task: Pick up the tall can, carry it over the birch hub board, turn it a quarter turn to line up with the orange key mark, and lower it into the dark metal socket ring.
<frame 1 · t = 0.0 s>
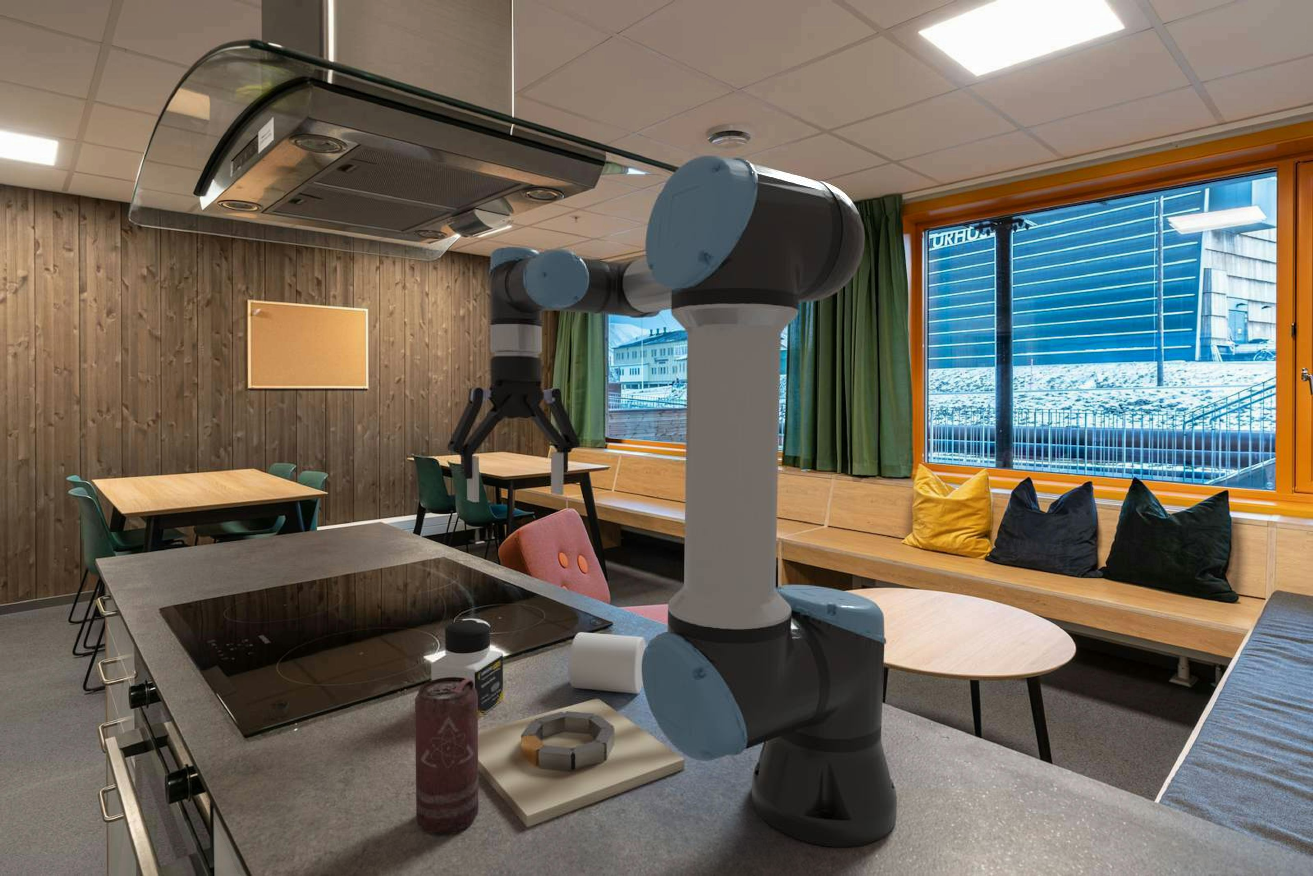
hand: (516, 497, 108), 28 cm above the countertop, fingers open, 13 cm apart
can: (448, 820, 74), on the countertop
medicine bottle: (468, 708, 100), on the countertop
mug: (611, 684, 108), on the countertop
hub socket: (568, 739, 86), on the hub board, point 2 cm above the countertop
hub board: (568, 757, 86), on the countertop
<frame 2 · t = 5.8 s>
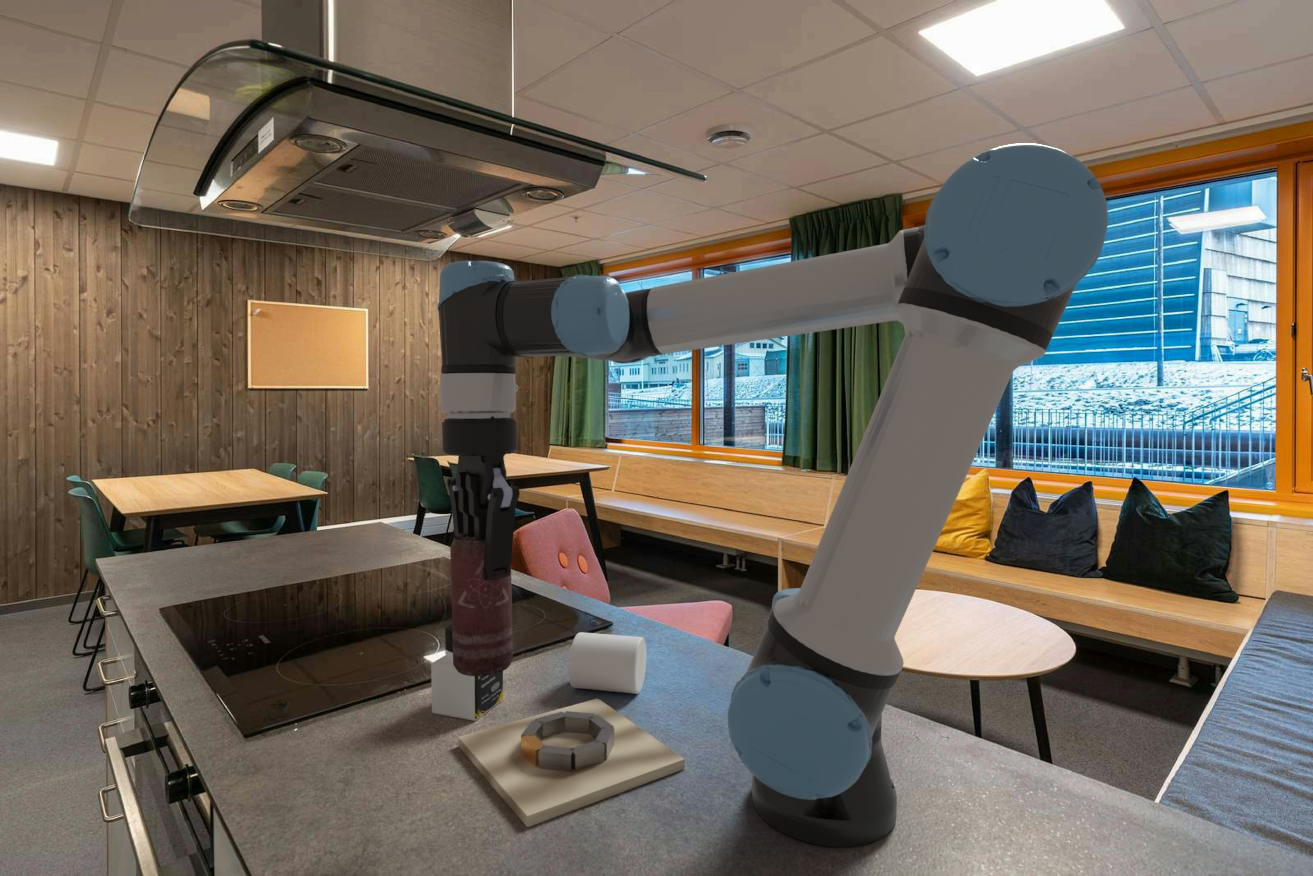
hand: (484, 639, 75), 18 cm above the countertop, fingers closed
can: (484, 667, 75), point 15 cm above the countertop, touching hand
everything else where it was.
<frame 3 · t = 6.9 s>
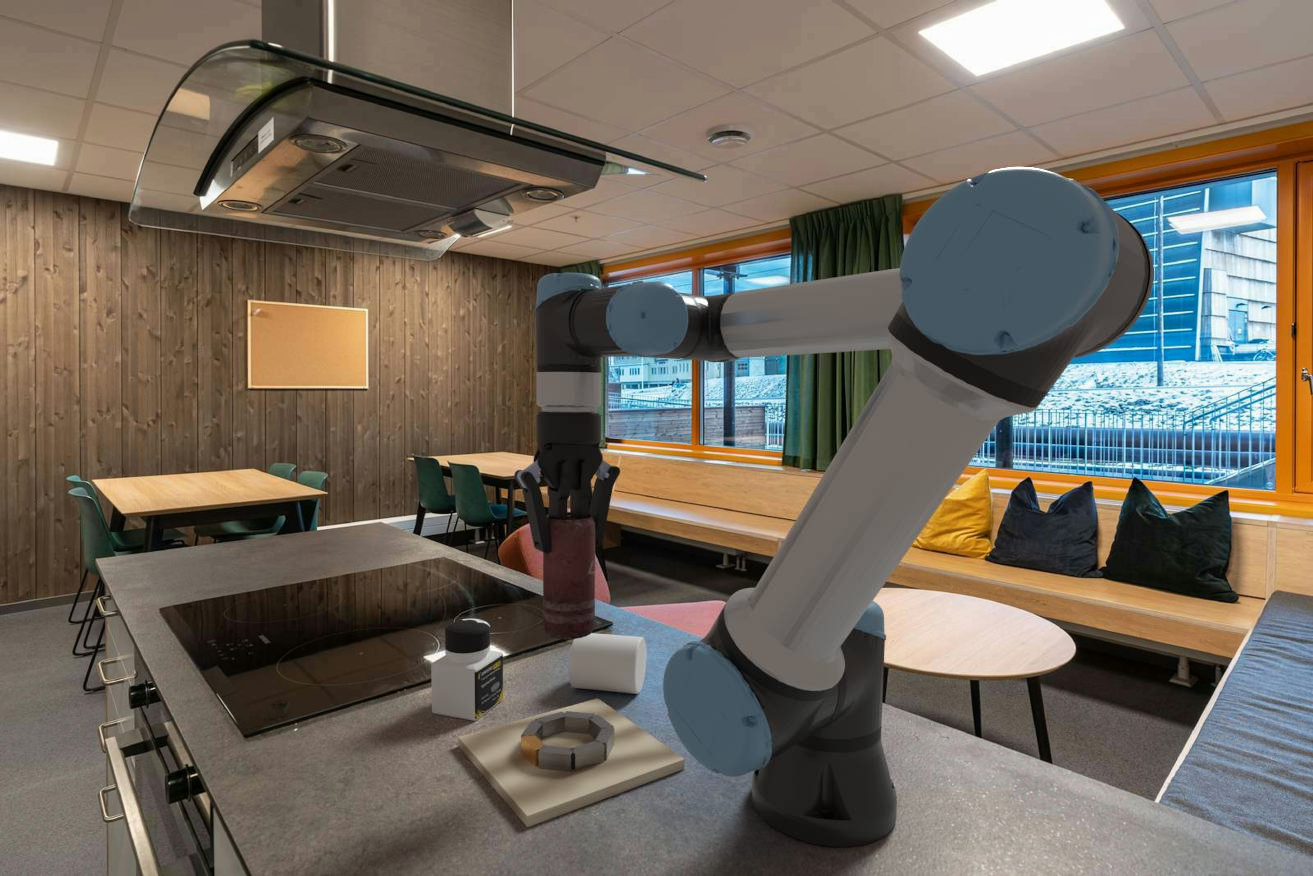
hand: (568, 607, 85), 18 cm above the countertop, fingers closed
can: (568, 632, 85), point 15 cm above the countertop, touching hand
everything else where it was.
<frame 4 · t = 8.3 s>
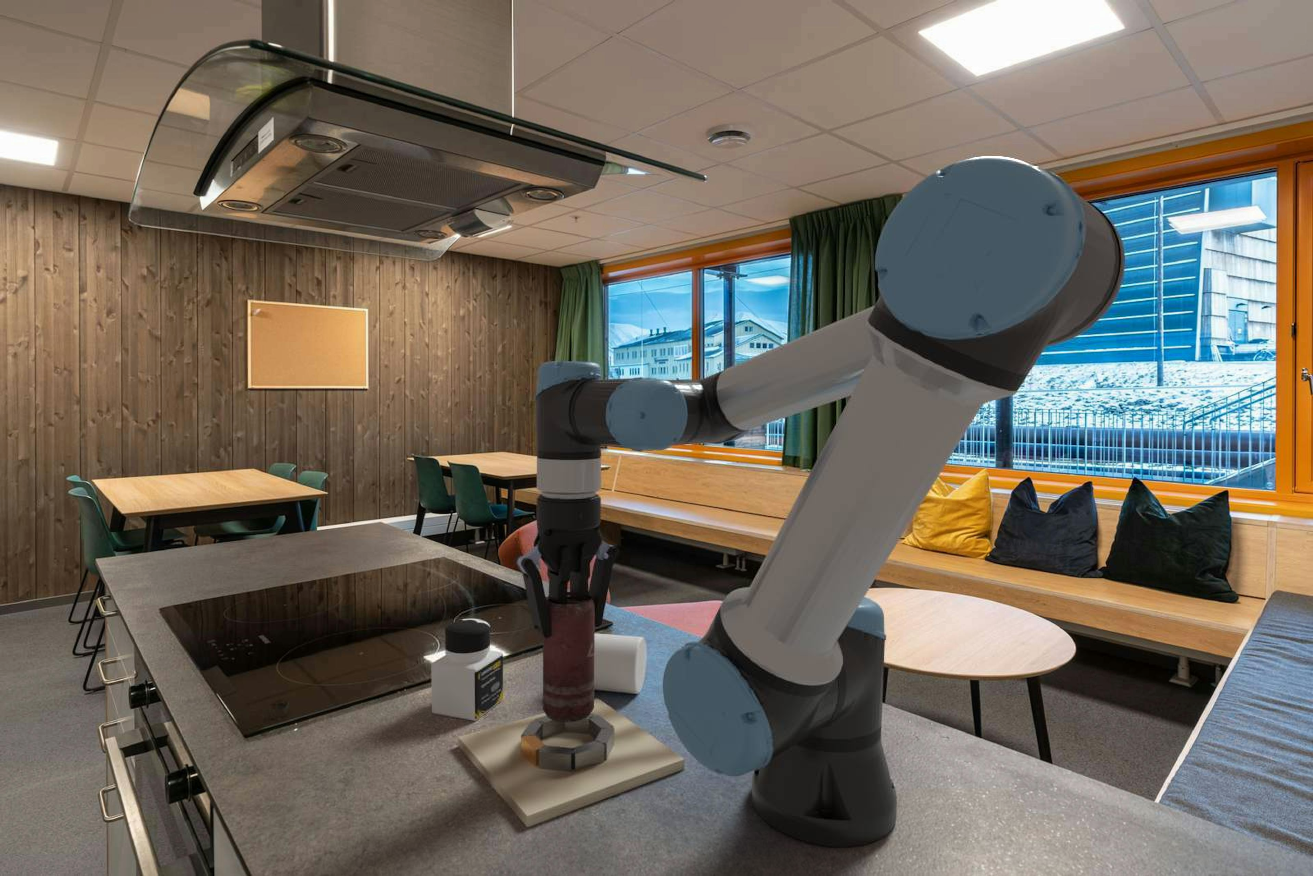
hand: (568, 688, 86), 9 cm above the countertop, fingers closed
can: (567, 713, 86), point 6 cm above the countertop, touching hand
everything else where it was.
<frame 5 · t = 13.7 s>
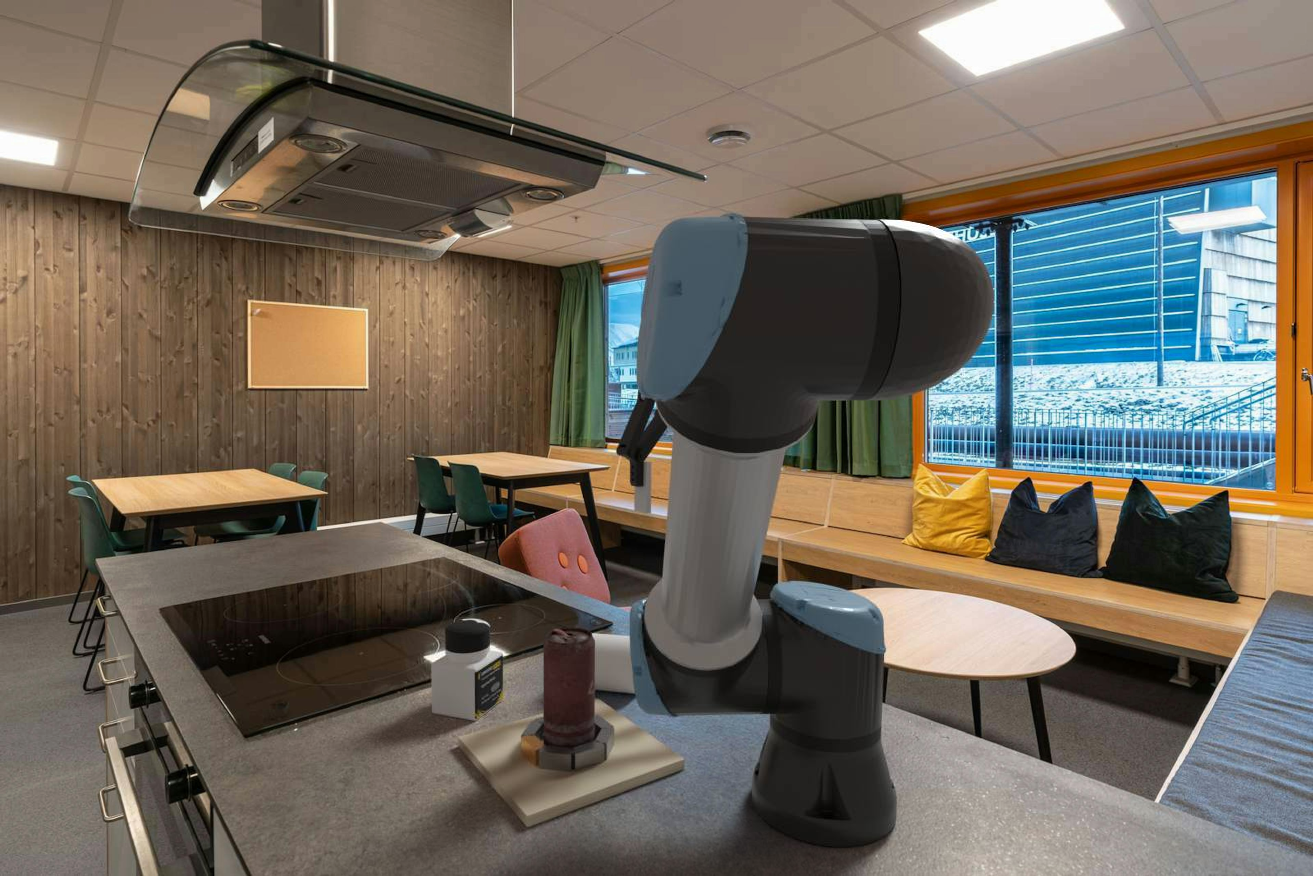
hand: (684, 507, 95), 29 cm above the countertop, fingers open, 13 cm apart
can: (568, 749, 86), point 1 cm above the countertop, touching hub board
everything else where it was.
at the end: can 0.1 cm from the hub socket (horizontally); can tilted 0°; the gripper is holding nothing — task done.
